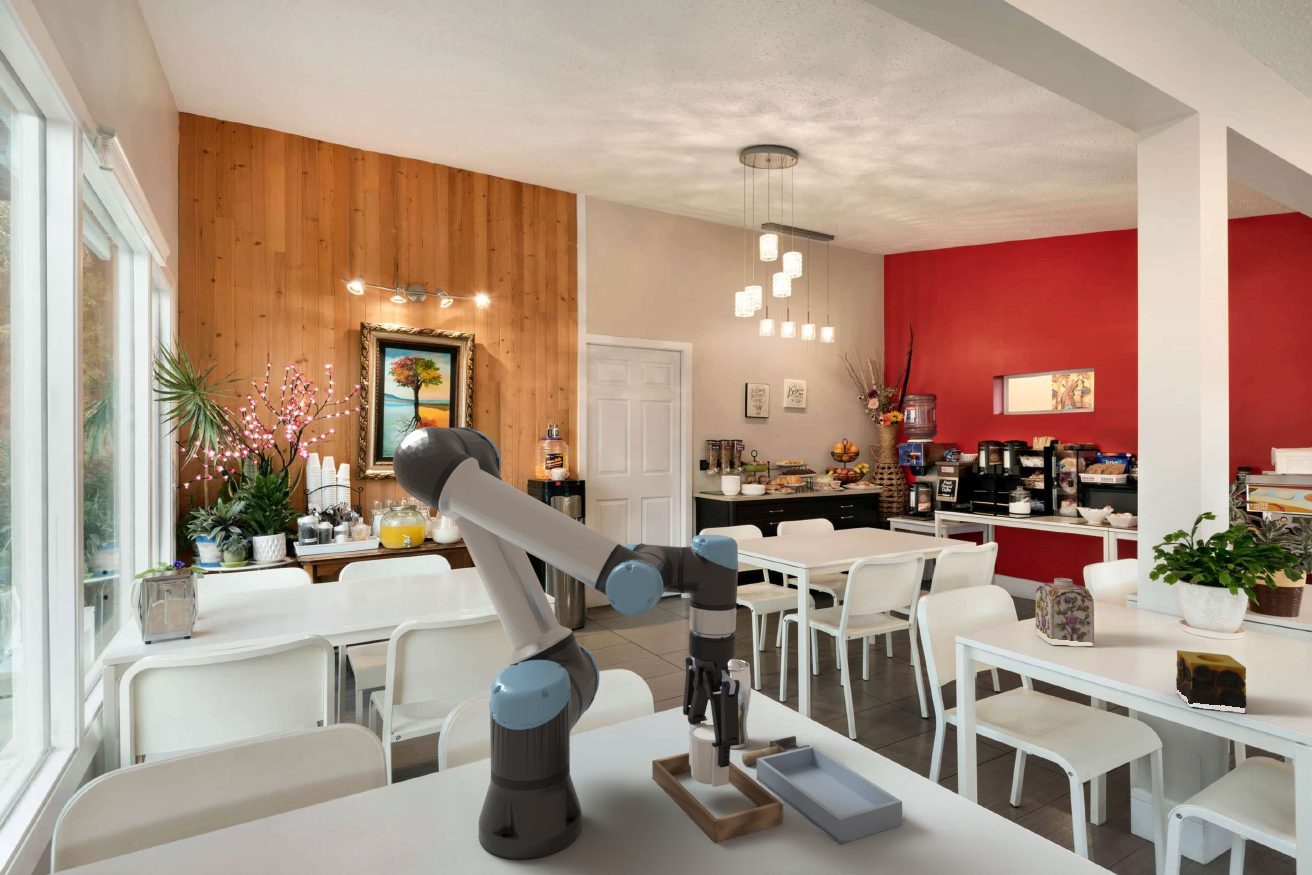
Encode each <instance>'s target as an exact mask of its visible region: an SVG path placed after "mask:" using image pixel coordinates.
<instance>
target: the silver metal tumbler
mask: <svg viewBox="0 0 1312 875" xmlns="http://www.w3.org/2000/svg"><path fill="white" fill-rule="evenodd" d="M728 669H729V677H730V678H731V679H732V680H739V683H740V687H739V693H738V713H739V744H738V745H734V746H730V750H739V749H744V748H747V746H749V745H750V744H749V743H750V739H749V734H748V726H747V723H748V714H749V709H750V702H751V694H752V693H751V692H752V684H751V682H752V681H751V680H752V678H751V670H750V669H751V668H750V663H749V662H747V661H745V660H742V659H737V658H732V659H731V660H730V661H729V662H728ZM718 693H721V692H714V694H718Z"/></svg>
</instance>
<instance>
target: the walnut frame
mask: <svg viewBox="0 0 1312 875" xmlns="http://www.w3.org/2000/svg"><path fill="white" fill-rule="evenodd" d="M651 761H652V763H651V765H652V768H651V770H652V772H651V773H652V776H651V777H652V778H651V779H653V780H654V781H655V782H656V784H657V785H658V786H659V787H660V788H661V789H662V790H663V791H664V792H665V793H666V794H667V795H668V796H669V797H670V798H671V799H672V800H673V801H674V803H676V804H677V806H678V807H680V809H681V810H682V811H684V813H685V814H686V815H687V816H688V817H689V818H690V819H691V820H692V821H693V822H694V823H695V824H696V826H698V827H699V829H701V830H702V831H703V832H704V834H705V835H707V837H708V838H709V839H710V840H711V842H713V843H714V844H715V843H719V842H723V841H726V840H729V839H733V838H738V837H739V836H740V837H741V836H744V835H747V834H751V833H754V832H758V831H762V830H765V829H767V828H772V827H775V826H779V825H782V824H784V804H783V802H782V801H780V800H779V799H778V798H777V797H776V796H774V795H773V794H772V793H771V792H769V791H768V790H766V789H765V788H764V787H763V786H762V785H760V784H759V783H758V782H756V781H755V780H754V779H753V778H752V777H750V776H749V775H748V774H747V773H745V772H744V771H743V770H742V769H741V768H739V767H738V766H737V765H736V764H734V763H733V762H731V761H730V764H729V783H730V785H732V786H733V787H734V788H736V790H738V791H739V792H740V793H741V794H743V795H744V796H745V797H746V798H747V799H749V801H751V802H752V803H753V804H755V806H756V807H754V808H751V809H750V808H749V809H747V810H744V811H743V810H742V811H739V812H735V813H731V814H728V815H723V816H721V817H717V818H716V816H714V814H712V813H711V812H710V811H709V810H708V809H707V808H706V807H705V806H704V805H703V804H702V803H701V802H700V801H699V800H698V799H697V798H696V797H695V796H694V795H693V794H692V793H691V792H690V791H689V790H688V789H687V788H686V787H685V786H684V785H682V783H681V782H680V781H678V780H677V779H676V778H675V777H674V776H676V775H682V774H686V773H689V772H690V773H691V766H690V765H689V752H686V753H681V754H677V755H672V756H666V757H662V758H658V759H653V760H651Z"/></svg>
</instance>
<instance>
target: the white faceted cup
mask: <svg viewBox="0 0 1312 875" xmlns="http://www.w3.org/2000/svg"><path fill="white" fill-rule="evenodd" d="M688 730H689V731H688V741H689V742H688V743H689V744H690V759H691V771H690V773H691V778H692V779H693V780H694V781H695V782H698V783H701V784H703V785H711V774H712V743H714V742H716V740H715V733H714V725H713V724H706V725H698V726H695V727H693V728H691V729H690V728H689V729H688ZM689 744H688V745H689Z"/></svg>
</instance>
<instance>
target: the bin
mask: <svg viewBox="0 0 1312 875" xmlns="http://www.w3.org/2000/svg"><path fill="white" fill-rule="evenodd" d="M756 780H757V781H759V782H760V784H763V786H765V787H766V788H767V789H768V790H770V791H771V792H773V793H774V794H775V795H777V796H778V798H780V799H781V800H783V801H784V802H785V803H787V805H789V806H790V807H791V808H792V809H794V810H796V811H797V812H798V813H799V814H800V815H802V816H803V817H805V819H807V820H808V821H809V822H810V823H812V824H813V825H814V826H816V827H817V828H818V829H819V830H821V831H822V832H823V833H825V835H827V836H828V837H829V838H831V839H832V840H833V841H834V842H836V843H837V844H839V845H842V844H846V843H849V842H852V841H854V840H858V839H861V838H864V837H865V838H866V837H868V836H871V835H874V834H878V833H880V832H884V831H887V830H890V829H893V828H894V829H895V828H897V827H900V826H902V825H903V801H902V800H901V799H899V798H897V797H895V796H894V795H893V794H891V793H889V792H888V791H886V790H885V789H884V788H881V787H880V786H878V785H877V784H875V783H874V782H872V781H870V780H868V779H867V778H866V777H864V776H862V775H861V774H859V773H858V772H856V771H854V770H853V769H851V768H850V767H849V766H847V765H845V764H843V763H842V762H841V761H838V760H837V759H836V758H833V757H832V756H830V755H829V754H828V753H826V752H824V751H823V750H821V749H819V748H818V747H816V746H815V745H810V746H809V747H804V748H800V749H796V750H791V751H787V752H783V753H778V754H774V755H770V756H765V757H761V758H757V763H756Z"/></svg>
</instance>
